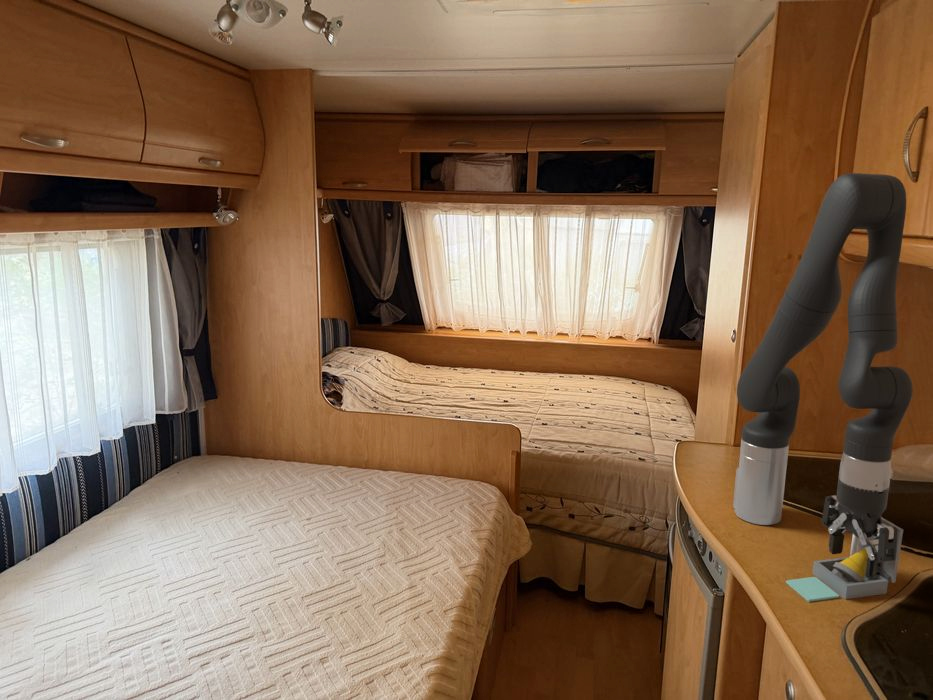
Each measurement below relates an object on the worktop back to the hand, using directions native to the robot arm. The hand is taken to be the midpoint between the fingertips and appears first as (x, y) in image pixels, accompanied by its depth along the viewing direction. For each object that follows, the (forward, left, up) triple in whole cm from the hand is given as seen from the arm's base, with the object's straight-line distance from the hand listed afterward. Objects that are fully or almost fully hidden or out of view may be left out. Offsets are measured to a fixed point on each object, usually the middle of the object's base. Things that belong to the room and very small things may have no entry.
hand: (853, 565), depth 117 cm
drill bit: (0, 0, -4) cm, 4 cm away
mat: (0, -8, -4) cm, 9 cm away
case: (-1, +1, -4) cm, 4 cm away
